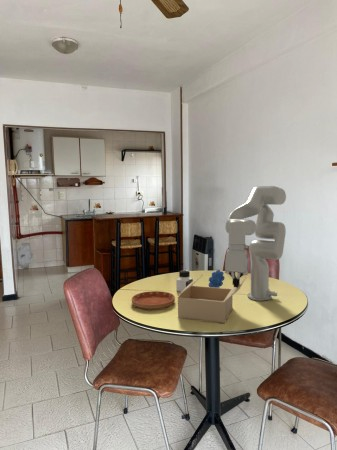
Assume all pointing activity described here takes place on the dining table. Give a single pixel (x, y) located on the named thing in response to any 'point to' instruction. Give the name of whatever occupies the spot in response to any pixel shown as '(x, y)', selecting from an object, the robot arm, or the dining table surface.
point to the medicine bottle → (183, 280)
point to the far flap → (189, 285)
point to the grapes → (216, 279)
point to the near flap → (235, 289)
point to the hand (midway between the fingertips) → (236, 286)
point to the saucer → (153, 300)
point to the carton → (205, 304)
